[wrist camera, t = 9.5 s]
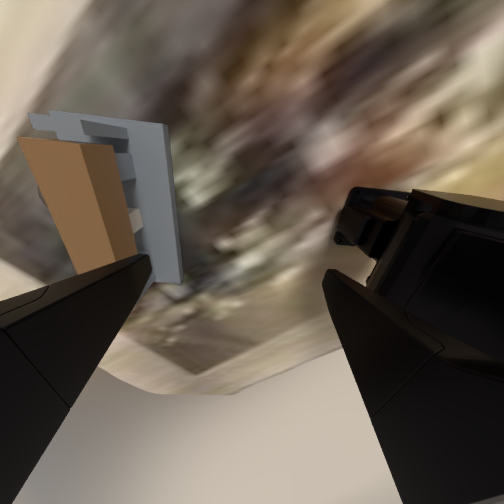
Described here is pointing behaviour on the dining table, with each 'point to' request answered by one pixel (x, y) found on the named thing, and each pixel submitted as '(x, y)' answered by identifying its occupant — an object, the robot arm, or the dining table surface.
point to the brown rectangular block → (83, 199)
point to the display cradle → (134, 181)
